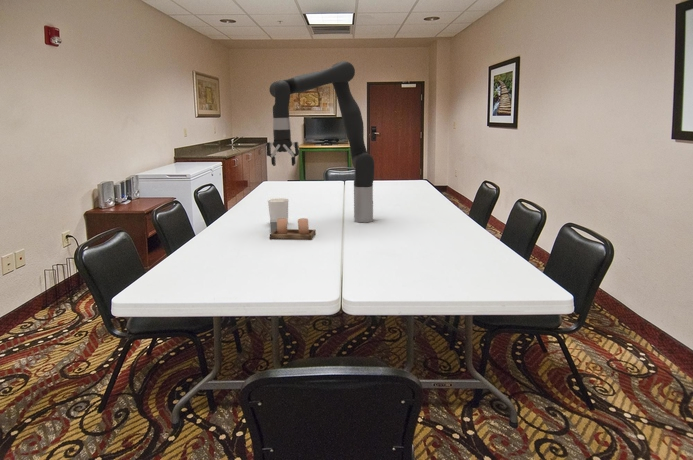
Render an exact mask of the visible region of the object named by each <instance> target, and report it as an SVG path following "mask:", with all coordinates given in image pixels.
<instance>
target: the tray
mask: <svg viewBox="0 0 693 460" xmlns="http://www.w3.org/2000/svg"><path fill="white" fill-rule="evenodd" d="M316 234H317V233H316V229H309V235H299V229H297V228H294V229H293V228H287V234H277V229H275V230H274V231H273V232H272V233H271V232H270V234H269V240H291V241H292V240H295V241H296V240H297V241H298V240H299V241H301V240H302V241H303V240H304V241H305V240H306V241H312V240H313V239H314V237H315V235H316Z"/></svg>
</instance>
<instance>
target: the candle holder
mask: <svg viewBox="0 0 693 460" xmlns="http://www.w3.org/2000/svg"><path fill="white" fill-rule="evenodd" d="M267 203H268V205H267V206H268V212H269V221H270V220H276V219H279V218H286V219H287V225H288V224H289V199H288V198H286V197H285V198H284V197H277V198H275V197H274V198H270V199H268V200H267Z"/></svg>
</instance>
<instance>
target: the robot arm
mask: <svg viewBox="0 0 693 460" xmlns="http://www.w3.org/2000/svg"><path fill="white" fill-rule="evenodd" d="M355 73H356V69H355V67H354V65H353V64H352V63H351V62H350V61H345V60H344V61H343V60H342V61H340V62H337V63H335V64H333V65H332V66H330V67H329V68H326V69H322V70H319V71H318V70H317V71H313V72H308V73H303V74H300V75H296V76H293V77H290V78H287V79H282V80H277V81H276V80H275V81H273V82H272V83H271V84H270V86H269V94H270V95H271V96H272V97H273V98H274V104H273V106H272V131H273V132H272V133H273V134H272V135H273V142H271V141H267V142H266V156H267V157H270V158H271V160H270V161H271V165H272V166H273V167H275V166H276V163H277V162H276V157H275V156H276V155H277V154H278V152H279V153H288V154H289V156H291V157H290V158H291V159H290V160H291V166H293V167H294V166H295V165H296V163H297V162H296V157H297V156H300V147H299V142H298V141H294V142H293V141H292V137H291V136H292V135H291V131H292V130H291V121H290V108H289V107H290V100H291V95H292V94H300V93H303V92H308V91H311V90H314V89H318V88H319V87H323V86H325V85H329V84H332V86H333V90H334V92H335V95H336V97H337V98H336V99H337V102H338V107H339V110H340V116H341V120H342V123H343V128H344V132H345V135H346V138H347V141H348V145H349V148H350V155H351V162H352V167H353V168H354V170H355V178H354V181H353V219H354V222H356V223H372V222H373V221H374V199H373V198H374V195H373V193H374V192H373V191H374V189H373V188H374V181H375V161H374V160H375V159H374V158H373V156H372V155H371V154H370V153H368V150H367V148H366V144H365V139H364V135H365V134H364V131H365V129H364V120H363V116H362V112H361V108H360V106H359V104H358V103H357V102H356V100H355V98H354V96H353V94H352V92H351V88H350V84H349V82H351V81H352V80H353V79H354V77H355ZM292 146H293V147H294V151H293V149H292ZM272 148H274V150H273V151H271V150H272Z"/></svg>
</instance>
